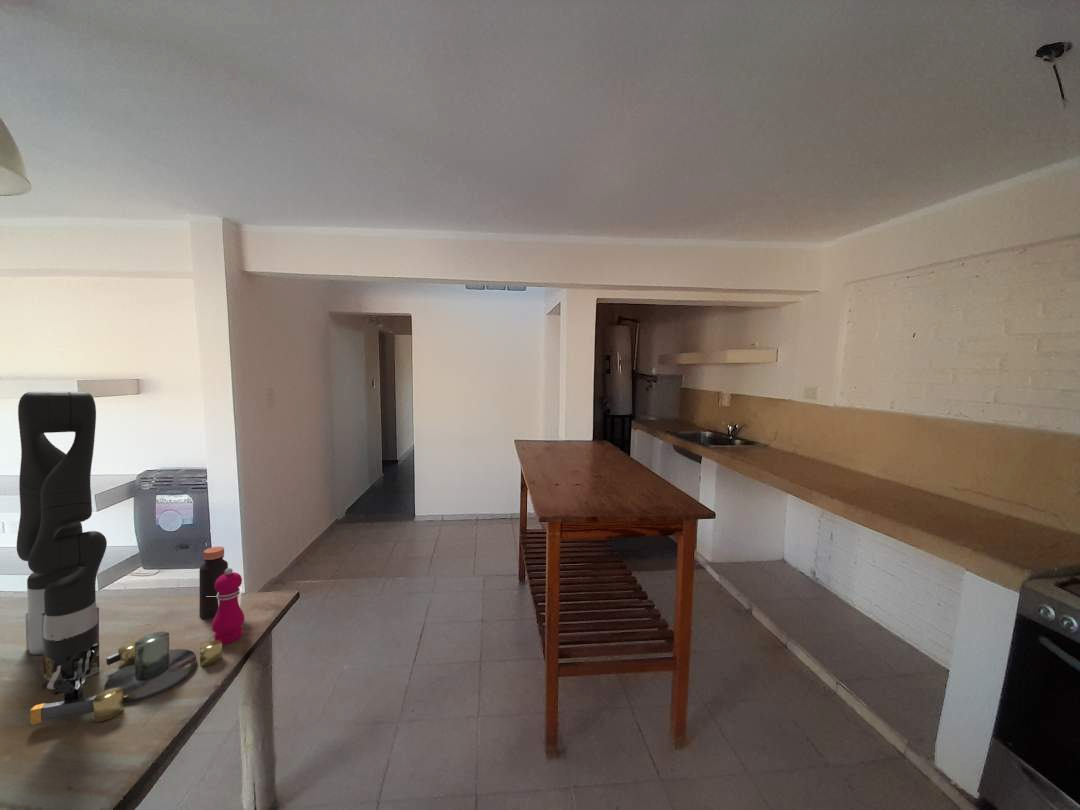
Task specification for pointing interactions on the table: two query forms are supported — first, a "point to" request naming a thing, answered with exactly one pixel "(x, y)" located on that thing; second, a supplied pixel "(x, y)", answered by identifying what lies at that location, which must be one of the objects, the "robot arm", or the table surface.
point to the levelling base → (153, 684)
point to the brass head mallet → (81, 707)
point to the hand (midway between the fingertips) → (73, 703)
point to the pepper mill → (228, 608)
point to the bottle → (211, 580)
